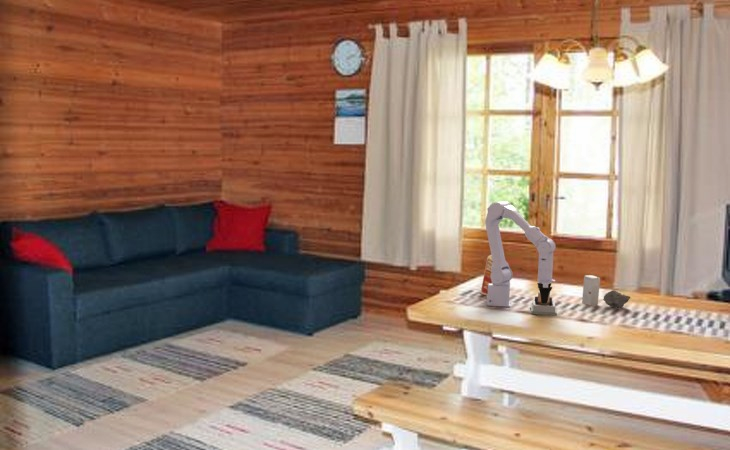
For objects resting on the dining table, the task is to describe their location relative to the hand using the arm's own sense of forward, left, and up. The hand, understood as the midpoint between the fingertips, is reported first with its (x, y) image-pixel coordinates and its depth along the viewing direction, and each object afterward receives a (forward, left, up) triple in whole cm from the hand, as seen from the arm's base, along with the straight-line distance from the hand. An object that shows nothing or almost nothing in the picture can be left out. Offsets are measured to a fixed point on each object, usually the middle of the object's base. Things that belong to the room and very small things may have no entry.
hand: (543, 301), depth 289 cm
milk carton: (-20, +27, -4) cm, 35 cm away
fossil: (+31, +14, -4) cm, 34 cm away
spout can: (0, 0, -2) cm, 2 cm away
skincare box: (+21, +19, -4) cm, 29 cm away
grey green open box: (0, 0, -4) cm, 4 cm away
